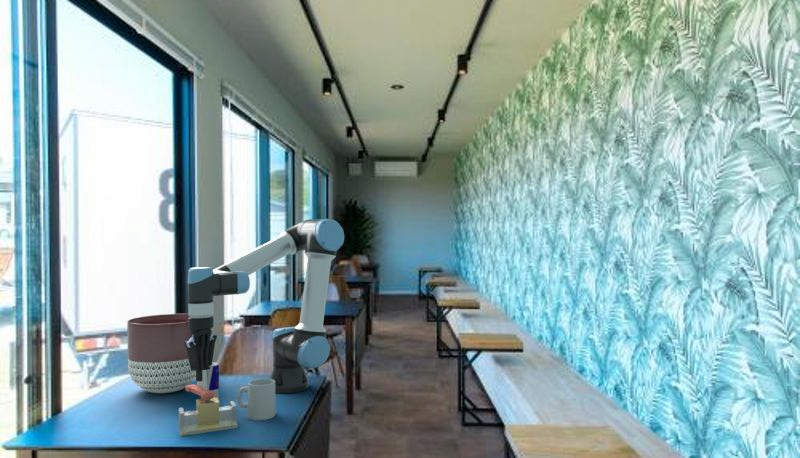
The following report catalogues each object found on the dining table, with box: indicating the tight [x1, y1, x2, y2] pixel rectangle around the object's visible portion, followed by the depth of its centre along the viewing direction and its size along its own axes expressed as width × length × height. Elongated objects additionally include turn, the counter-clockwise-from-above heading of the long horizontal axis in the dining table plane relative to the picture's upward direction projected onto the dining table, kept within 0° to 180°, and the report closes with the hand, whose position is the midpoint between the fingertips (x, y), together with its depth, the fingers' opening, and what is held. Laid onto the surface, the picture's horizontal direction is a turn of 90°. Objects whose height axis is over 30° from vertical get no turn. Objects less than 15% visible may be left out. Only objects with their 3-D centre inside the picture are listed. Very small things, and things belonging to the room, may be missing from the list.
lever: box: [184, 383, 214, 401], centre depth 170 cm, size 14×4×2 cm, turn 46°
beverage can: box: [200, 361, 220, 401], centre depth 185 cm, size 6×6×15 cm
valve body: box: [177, 397, 238, 437], centre depth 166 cm, size 16×9×8 cm, turn 116°
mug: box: [237, 378, 276, 421], centre depth 176 cm, size 12×8×11 cm
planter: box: [126, 313, 196, 394], centre depth 206 cm, size 27×27×27 cm
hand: (201, 390), depth 174 cm, fingers closed
